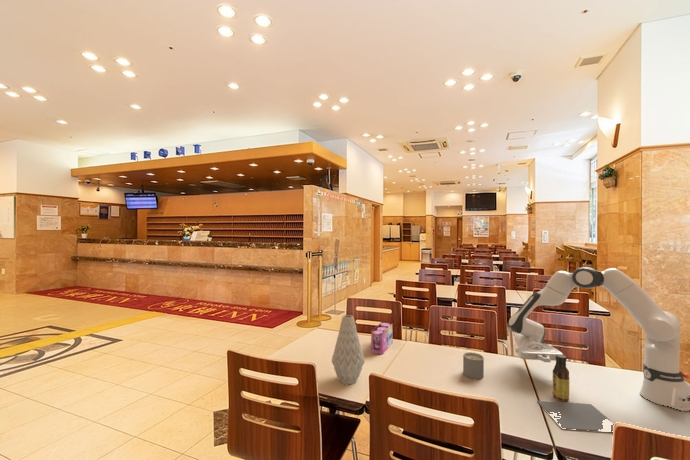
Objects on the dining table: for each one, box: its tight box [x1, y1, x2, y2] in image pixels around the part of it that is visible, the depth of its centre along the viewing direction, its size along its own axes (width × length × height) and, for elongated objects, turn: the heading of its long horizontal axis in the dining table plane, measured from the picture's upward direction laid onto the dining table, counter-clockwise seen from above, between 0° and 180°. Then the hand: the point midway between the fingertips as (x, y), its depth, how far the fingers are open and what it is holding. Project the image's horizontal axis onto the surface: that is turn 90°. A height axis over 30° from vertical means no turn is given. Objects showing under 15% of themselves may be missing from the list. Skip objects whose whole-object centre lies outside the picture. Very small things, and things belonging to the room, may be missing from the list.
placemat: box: [536, 400, 615, 432], centre depth 127 cm, size 22×19×1 cm
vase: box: [331, 314, 365, 385], centre depth 158 cm, size 17×17×33 cm
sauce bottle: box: [552, 353, 570, 403], centre depth 140 cm, size 7×6×20 cm
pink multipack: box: [370, 321, 394, 355], centre depth 201 cm, size 24×8×14 cm, turn 155°
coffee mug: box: [462, 351, 485, 380], centre depth 165 cm, size 13×10×10 cm
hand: (547, 360), depth 151 cm, fingers closed
